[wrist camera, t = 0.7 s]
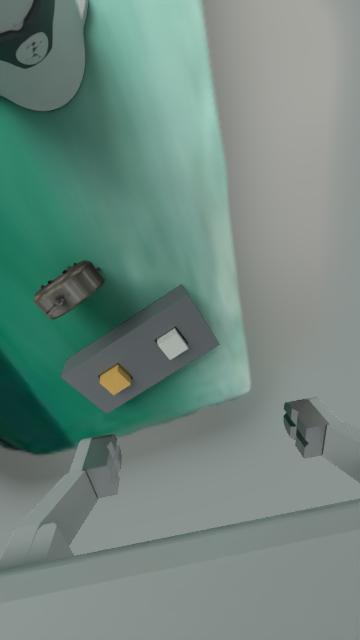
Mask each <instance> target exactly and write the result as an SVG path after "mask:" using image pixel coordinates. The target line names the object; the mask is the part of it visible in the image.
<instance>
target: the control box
mask: <svg viewBox="0 0 360 640" xmlns="http://www.w3.org/2000/svg"><path fill="white" fill-rule="evenodd" d="M175 326H176V327H177V328H178V330H179V331H180V332H181V334H182V335H183V337H184V338H185V339H186V344H187V347H188V349H187V350H185V351H184V352H182V353H181V354H179V355H177V356H176V357H174V358H173V359H171V360H169V358H168V357H167V356H166V355H165V353H164V352H163V351H162V350H161V349H160V347H159V346H158V343H157V341H156V340H155V339H157V338H158V337H160V336H161V335H163V334H164V333H166V332H168V331H169V330H171V329H172V328H174V327H175ZM218 345H219V342H218V341H217V339H216V338H215V336H214V334H213V333H212V331H211V330H210V328H209V327H208V325H207V323H206V322H205V320H204V319H203V317H202V316H201V314H200V312H199V311H198V309H197V308H196V306H195V305H194V303H193V301H192V300H191V298H190V297H189V295H188V294H187V292H186V290H185V289H184V287H183V286H182V284H181V285H180V286H178V287H177V288H175V289H174V290H172V291H171V292H169V293H168V294H166V295H165V296H163V297H161V298H160V299H158V300H157V301H155V302H154V303H152V304H151V305H149V306H148V307H146V308H145V309H143V310H142V311H140V312H138V313H137V314H135V315H134V316H132V317H131V318H129V319H128V320H126V321H125V322H123V323H122V324H120V325H119V326H117V327H116V328H114V329H112V330H111V331H109V332H108V333H106V334H105V335H103V336H102V337H100V338H99V339H97V340H96V341H94V342H93V343H91V344H89V345H88V346H86V347H85V348H83V349H82V350H80V351H79V352H77V353H76V354H74V355H73V356H71V357H70V358H68V359H67V361H66V363H65V366H64V369H63V371H62V374H61V378H63V379H64V380H65V381H66V382H67V383H69V384H70V385H71V386H72V387H74V388H75V389H76V390H77V391H79V392H80V393H81V394H82V395H84V396H85V397H86V398H87V399H88V400H90V401H91V402H92V403H93V404H95V405H96V406H97V407H98V408H100V409H101V410H102V411H103V412H104V413H106V414H108V413H109V412H111V411H113V410H114V409H116V408H117V407H119V406H121V405H122V404H124V403H126V402H127V401H129V400H130V399H132V398H134V397H135V396H137V395H138V394H140V393H142V392H143V391H145V390H147V389H148V388H150V387H151V386H153V385H155V384H156V383H158V382H159V381H161V380H163V379H164V378H166V377H168V376H169V375H171V374H172V373H174V372H176V371H177V370H179V369H180V368H182V367H184V366H185V365H187V364H189V363H190V362H192V361H193V360H195V359H197V358H198V357H200V356H201V355H203V354H205V353H206V352H208V351H210V350H211V349H213V348H214V347H216V346H218ZM117 363H119V364H120V365H121V366H122V367H123V368H124V369H125V370H126V371H127V372H128V373H129V374H130V375H131V385H130V386H128V387H126V388H125V389H123V390H122V391H120V392H118V393H117V394H115V395H112V394H111V393H110V392H109V391H108V390H107V389H106V388H105V387H103V386H102V385H101V384H100V383H99V382H100V374H102V373H103V372H105V371H106V370H108V369H110V368H111V367H113V366H114V365H116V364H117Z"/></svg>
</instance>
